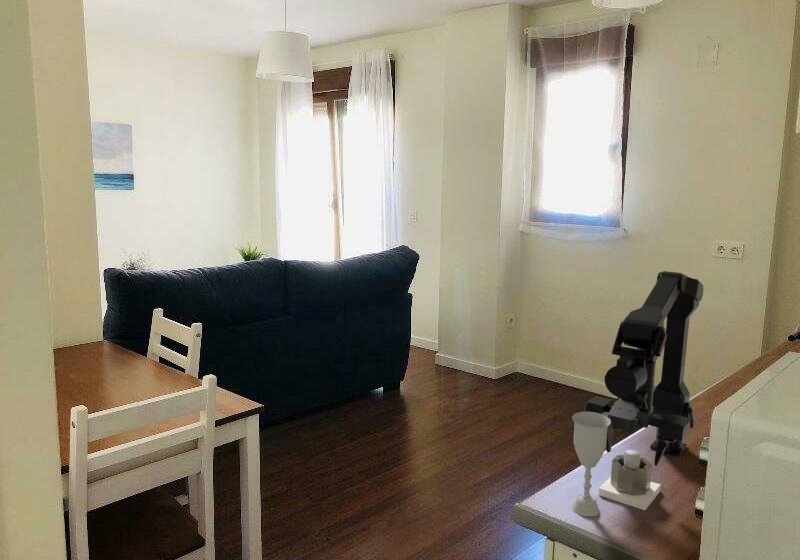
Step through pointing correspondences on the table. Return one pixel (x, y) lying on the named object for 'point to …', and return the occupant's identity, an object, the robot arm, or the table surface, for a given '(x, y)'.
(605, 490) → the post plate
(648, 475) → the hub
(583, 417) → the chalice
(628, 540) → the table surface
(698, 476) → the table surface
